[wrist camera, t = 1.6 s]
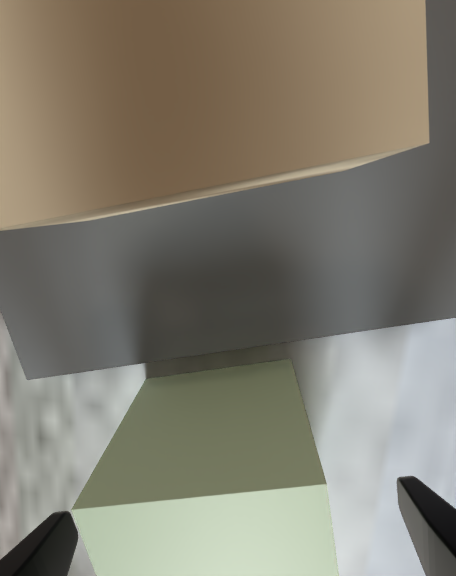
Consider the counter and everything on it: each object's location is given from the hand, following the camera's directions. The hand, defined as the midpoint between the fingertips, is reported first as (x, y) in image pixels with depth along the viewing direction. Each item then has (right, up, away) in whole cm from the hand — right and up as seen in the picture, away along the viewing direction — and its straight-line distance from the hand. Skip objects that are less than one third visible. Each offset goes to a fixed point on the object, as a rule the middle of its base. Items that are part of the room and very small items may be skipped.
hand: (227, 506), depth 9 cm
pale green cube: (0, +1, +3) cm, 3 cm away
